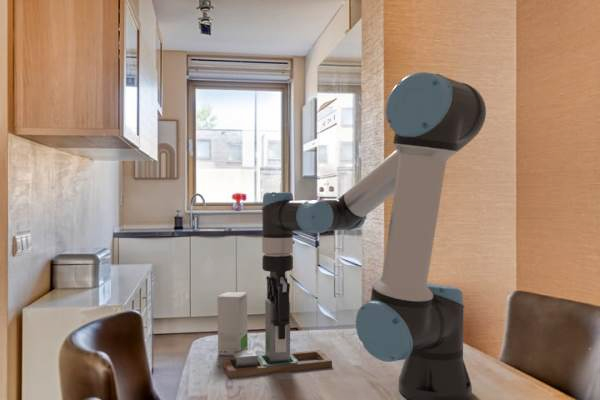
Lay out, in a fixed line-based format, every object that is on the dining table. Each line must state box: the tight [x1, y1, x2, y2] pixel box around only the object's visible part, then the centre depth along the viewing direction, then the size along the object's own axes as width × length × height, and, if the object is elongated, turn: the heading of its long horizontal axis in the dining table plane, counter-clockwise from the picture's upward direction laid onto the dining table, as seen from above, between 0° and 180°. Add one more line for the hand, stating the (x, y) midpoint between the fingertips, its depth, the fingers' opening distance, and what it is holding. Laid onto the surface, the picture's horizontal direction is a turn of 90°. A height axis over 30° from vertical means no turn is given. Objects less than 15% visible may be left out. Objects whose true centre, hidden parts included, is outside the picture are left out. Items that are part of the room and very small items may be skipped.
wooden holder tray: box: [222, 349, 333, 379], centre depth 124 cm, size 9×25×2 cm, turn 107°
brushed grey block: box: [264, 298, 291, 364], centre depth 124 cm, size 5×5×15 cm
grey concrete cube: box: [233, 349, 259, 369], centre depth 121 cm, size 5×5×4 cm
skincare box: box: [217, 291, 249, 357], centre depth 135 cm, size 8×7×16 cm
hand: (277, 348), depth 124 cm, fingers closed on brushed grey block, 5 cm apart
